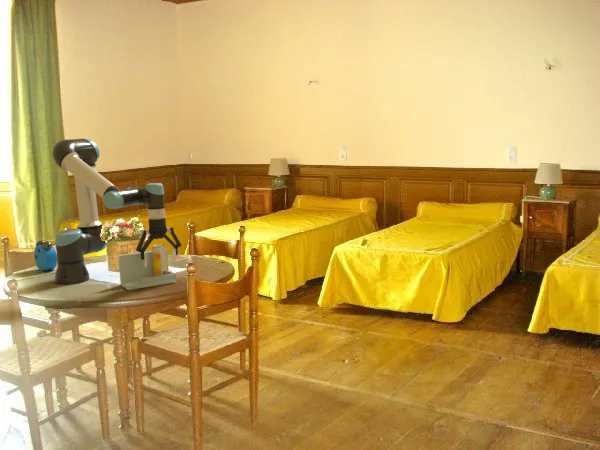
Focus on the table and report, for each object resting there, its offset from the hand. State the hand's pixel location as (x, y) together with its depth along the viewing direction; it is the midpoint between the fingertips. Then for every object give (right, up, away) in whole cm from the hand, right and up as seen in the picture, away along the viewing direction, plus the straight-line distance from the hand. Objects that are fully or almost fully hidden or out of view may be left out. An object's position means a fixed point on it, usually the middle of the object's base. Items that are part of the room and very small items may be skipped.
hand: (160, 264), depth 299 cm
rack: (-5, -8, -2) cm, 10 cm away
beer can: (0, -6, +1) cm, 6 cm away
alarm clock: (-64, -5, +34) cm, 72 cm away
